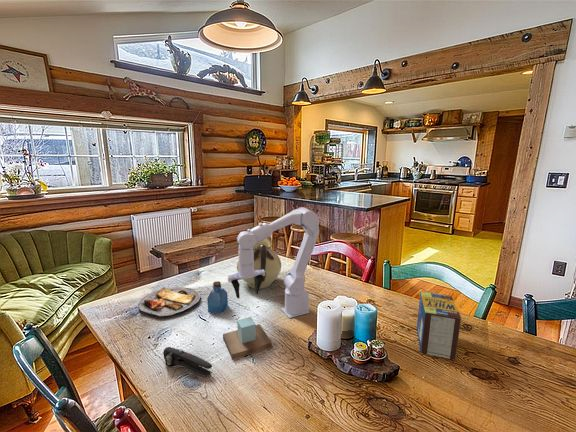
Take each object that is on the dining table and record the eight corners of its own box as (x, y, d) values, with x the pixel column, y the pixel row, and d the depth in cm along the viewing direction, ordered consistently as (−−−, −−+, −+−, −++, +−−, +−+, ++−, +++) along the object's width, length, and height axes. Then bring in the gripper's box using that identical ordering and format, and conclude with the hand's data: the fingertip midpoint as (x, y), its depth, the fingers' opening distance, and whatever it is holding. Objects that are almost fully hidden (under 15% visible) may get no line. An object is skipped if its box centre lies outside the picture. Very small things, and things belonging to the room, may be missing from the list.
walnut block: (259, 329, 109) (259, 324, 108) (272, 348, 98) (272, 342, 98) (223, 340, 103) (222, 333, 102) (232, 361, 92) (231, 354, 92)
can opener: (158, 366, 90) (156, 350, 88) (175, 352, 96) (173, 337, 95) (203, 385, 82) (201, 368, 81) (218, 369, 89) (217, 353, 87)
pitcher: (257, 270, 162) (256, 228, 157) (291, 281, 149) (292, 235, 143) (228, 285, 145) (225, 238, 139) (263, 299, 131) (262, 247, 125)
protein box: (446, 333, 106) (451, 295, 103) (455, 361, 92) (462, 317, 88) (416, 328, 109) (420, 290, 106) (420, 354, 95) (424, 311, 92)
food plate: (126, 310, 121) (126, 302, 120) (168, 287, 142) (167, 281, 142) (173, 324, 112) (172, 316, 111) (210, 298, 133) (209, 291, 132)
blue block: (251, 331, 104) (250, 316, 102) (255, 339, 99) (255, 324, 98) (237, 335, 102) (237, 320, 100) (241, 343, 97) (241, 327, 96)
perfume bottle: (221, 313, 119) (220, 286, 116) (208, 312, 120) (206, 285, 118) (227, 306, 125) (226, 280, 122) (214, 304, 126) (213, 279, 124)
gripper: (260, 256, 117) (260, 287, 119) (225, 262, 110) (226, 294, 113) (266, 262, 110) (267, 294, 113) (229, 268, 104) (231, 302, 107)
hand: (247, 295), depth 113 cm, fingers open, 7 cm apart
